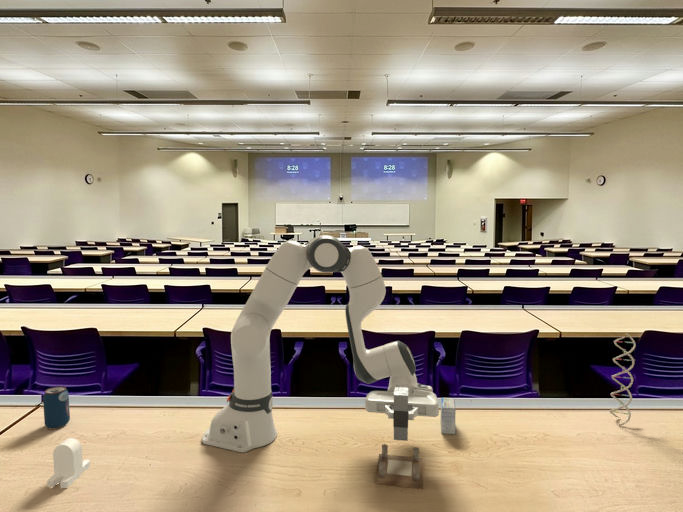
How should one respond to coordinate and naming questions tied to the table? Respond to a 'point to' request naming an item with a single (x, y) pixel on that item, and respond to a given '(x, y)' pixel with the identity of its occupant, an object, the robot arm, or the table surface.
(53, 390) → the soda can
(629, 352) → the dna model
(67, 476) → the cable organizer
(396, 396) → the grey rectangular block
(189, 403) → the table surface
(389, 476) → the peg cradle
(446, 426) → the medicine box
